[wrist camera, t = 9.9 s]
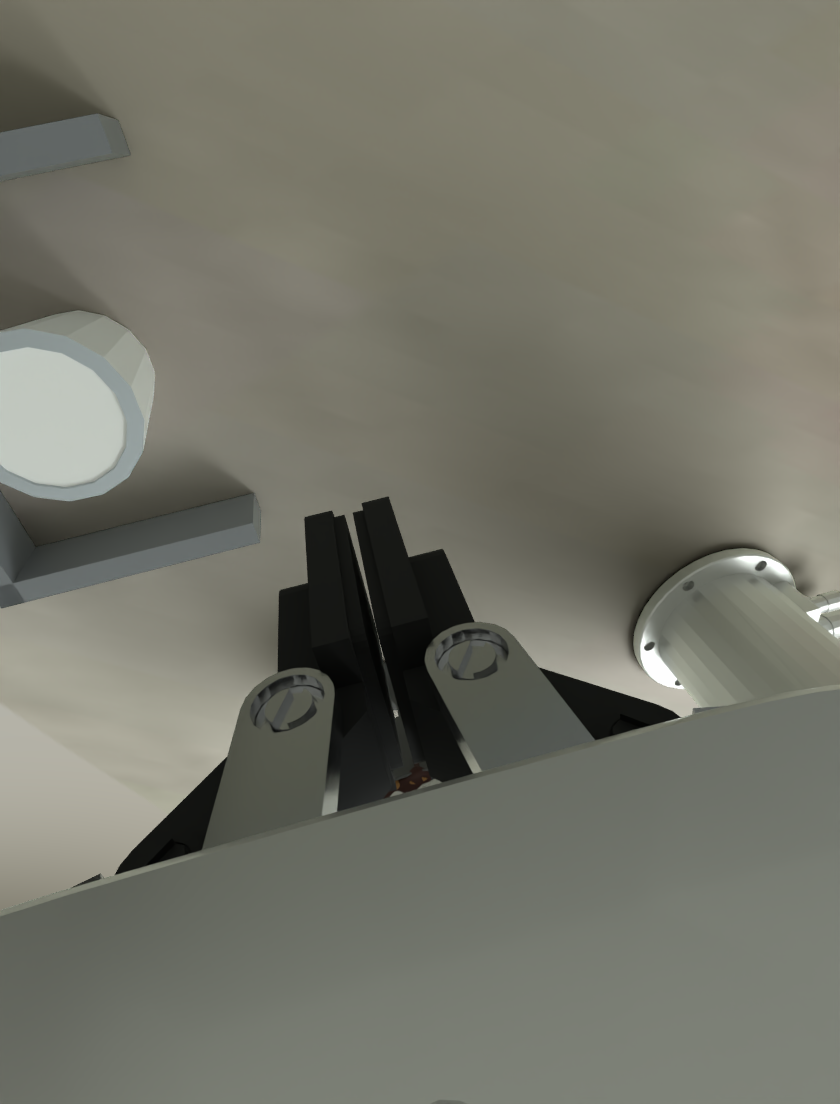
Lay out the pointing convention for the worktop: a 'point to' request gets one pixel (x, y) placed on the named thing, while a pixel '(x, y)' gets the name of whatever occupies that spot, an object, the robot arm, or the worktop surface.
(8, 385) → the shot glass
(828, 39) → the worktop surface
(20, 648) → the worktop surface
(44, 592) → the box
